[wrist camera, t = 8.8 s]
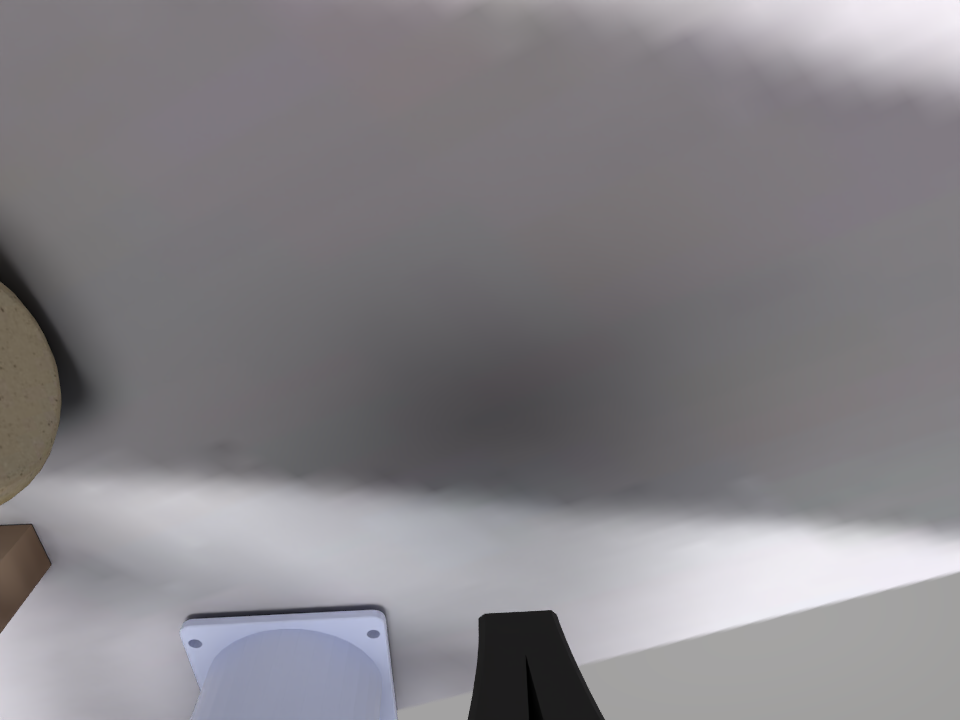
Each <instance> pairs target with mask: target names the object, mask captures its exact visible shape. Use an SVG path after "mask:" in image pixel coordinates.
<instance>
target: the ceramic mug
mask: <svg viewBox="0 0 960 720" xmlns="http://www.w3.org/2000/svg"><path fill="white" fill-rule="evenodd" d="M60 412H61V389H60V383H59V376H58V370H57V366H56V362H55V359H54V357H53V354H52V352H51V350H50V347H49V345H48V343H47V340H46V338H45V336H44V334H43V332H42V330H41V329H40V327H39V325H38V323H37V322H36V320H35V318H34V317H33V316H32V315H31V313H30V312H29V311H28V310H27V308H26V307H25V306H24V305H23V303H22V302H21V301H20V300H19V299H18V297H17V296H16V295H15V294H14V293H13V292H12V291H11V290H10V289H9V288H7V287H6V286H5V285H4V284H3V283H1V282H0V505H2V504H4V503H5V502H7V501H9V500H10V499H12V498H13V497H14V496H15V495H17V494H18V493H19V492H20V491H22V490H23V489H24V488H25V487H27V486H28V485H29V484H30V482H31V481H32V480H33V479H34V478H35V476H36V475H37V474H38V473H39V472H40V470H41V469H42V467H43V465H44V464H45V462H46V460H47V458H48V456H49V455H50V452H51V449H52V446H53V443H54V440H55V437H56V434H57V430H58V426H59V421H60Z"/></svg>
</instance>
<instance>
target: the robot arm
mask: <svg viewBox="0 0 960 720" xmlns="http://www.w3.org/2000/svg"><path fill="white" fill-rule="evenodd" d="M180 637H181V640H182V642H183V645H184V648H185V651H186V653H187V656H188V659H189V661H190V664H191V667H192V669H193V672H194V675H195V677H196V680H197V683H198V685H199V688H200V691H201V692H200V694H199V697H198V700H197V703H196V705H195V708H194V711H193V713H192V716H191V719H190V720H398V718H397V709H396V701H395V692H394V684H393V675H392V667H391V658H390V650H389V642H388V633H387V625H386V617H385V615H384V614H383V613H382V612H381V611H378V610H356V611H337V612H318V613H298V614H279V615H259V616H240V617H221V618H201V619H190V620H187V621H185V622H184V623H183V625H182V627H181V629H180ZM468 720H605V719H604V717H603V715H602V714H601V712H600V710H599V708H598V706H597V704H596V702H595V700H594V698H593V697H592V695H591V693H590V691H589V689H588V687H587V685H586V682H585V680H584V678H583V676H582V674H581V672H580V670H579V668H578V666H577V664H576V661H575V659H574V657H573V655H572V653H571V650H570V648H569V646H568V643H567V641H566V638H565V636H564V633H563V631H562V628H561V626H560V623H559V620H558V617H557V614H555V613H554V612H553V611H551V610H547V611H528V612H509V613H489V614H484V615H482V616H481V617H480V618H479V647H478V659H477V668H476V675H475V682H474V689H473V696H472V701H471V706H470V711H469V716H468Z"/></svg>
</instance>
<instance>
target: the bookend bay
mask: <svg viewBox="0 0 960 720" xmlns="http://www.w3.org/2000/svg"><path fill="white" fill-rule="evenodd" d="M50 566H51V564H50V562H49V559H48V557H47V555H46V553H45V551H44V549H43V547H42V545H41V543H40V541H39V539H38V537H37V535H36V533H35V531H34V529H33V527H32V525H8V526H0V633H1V632H2V631H3V629H4V628H5V627H6V625H7V624H8V622H9V621H10V620H11V618H12V617H13V616H14V614H15V613H16V612H17V610H18V609H19V608H20V606H21V605H22V604H23V602H24V601H25V600H26V598H27V597H28V596H29V594H30V593H31V592H32V590H33V589H34V588H35V586H36V585H37V584H38V582H39V581H40V579H41V578H42V577H43V575H44V574H45V573H46V571H47V570H48V569H49V567H50Z"/></svg>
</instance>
